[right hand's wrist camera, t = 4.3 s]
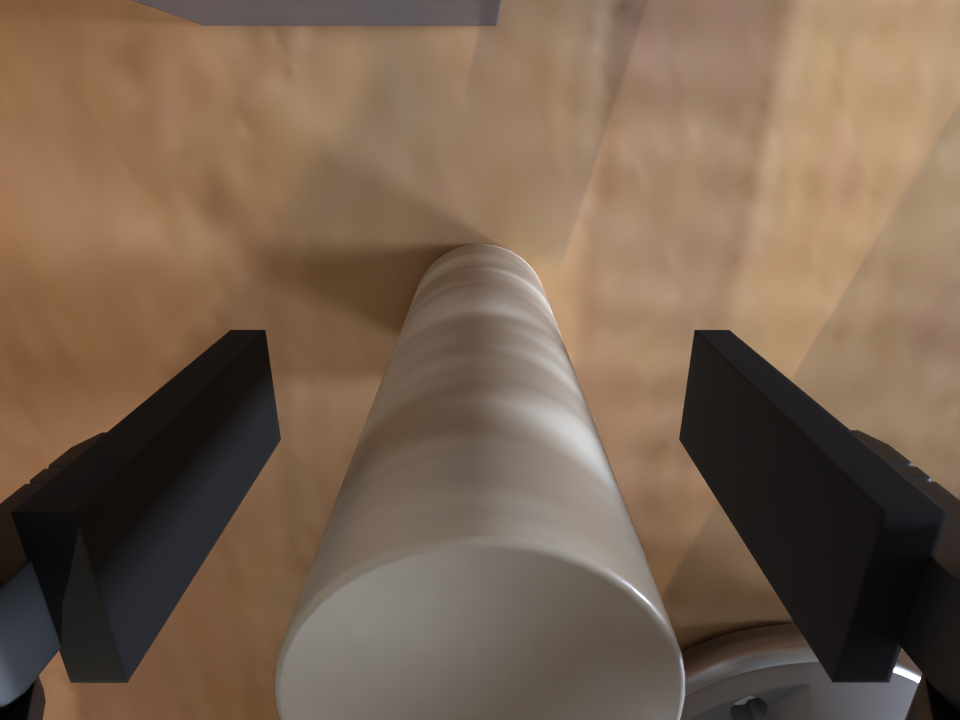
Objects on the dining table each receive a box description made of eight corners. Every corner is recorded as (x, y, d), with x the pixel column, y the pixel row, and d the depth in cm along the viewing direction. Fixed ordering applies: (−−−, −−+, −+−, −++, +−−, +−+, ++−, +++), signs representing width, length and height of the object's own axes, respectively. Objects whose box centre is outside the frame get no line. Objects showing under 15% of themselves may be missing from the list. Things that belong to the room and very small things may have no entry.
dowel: (565, 270, 19) (767, 613, 6) (517, 385, 20) (585, 870, 7) (438, 223, 18) (332, 482, 5) (397, 345, 19) (233, 790, 6)
